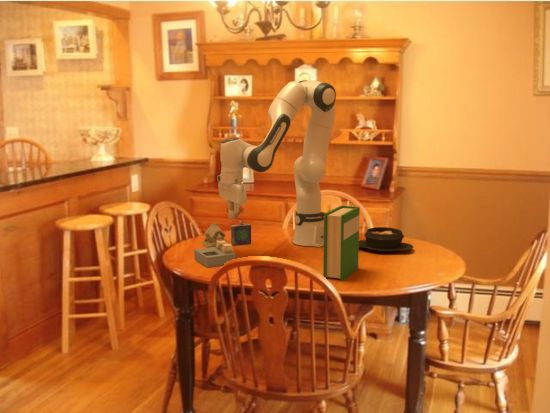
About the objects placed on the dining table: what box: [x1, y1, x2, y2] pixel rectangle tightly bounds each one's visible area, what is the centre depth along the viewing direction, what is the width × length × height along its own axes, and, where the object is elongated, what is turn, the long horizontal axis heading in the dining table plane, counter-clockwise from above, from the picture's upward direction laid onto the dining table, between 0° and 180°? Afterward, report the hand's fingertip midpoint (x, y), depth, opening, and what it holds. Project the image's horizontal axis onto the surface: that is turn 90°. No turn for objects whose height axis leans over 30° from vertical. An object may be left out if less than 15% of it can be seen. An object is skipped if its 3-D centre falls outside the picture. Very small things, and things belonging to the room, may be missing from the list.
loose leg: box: [227, 199, 239, 220], centre depth 236 cm, size 4×4×8 cm
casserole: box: [359, 226, 414, 254], centre depth 248 cm, size 25×19×8 cm
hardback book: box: [322, 205, 361, 282], centre depth 213 cm, size 18×7×24 cm, turn 154°
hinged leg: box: [216, 239, 234, 253], centre depth 233 cm, size 11×3×3 cm, turn 26°
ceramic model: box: [202, 222, 227, 248], centre depth 257 cm, size 14×11×10 cm
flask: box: [230, 220, 252, 247], centre depth 258 cm, size 9×3×11 cm, turn 109°
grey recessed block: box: [193, 247, 236, 269], centre depth 231 cm, size 12×14×4 cm
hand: (233, 211), depth 236 cm, fingers closed on loose leg, 4 cm apart
